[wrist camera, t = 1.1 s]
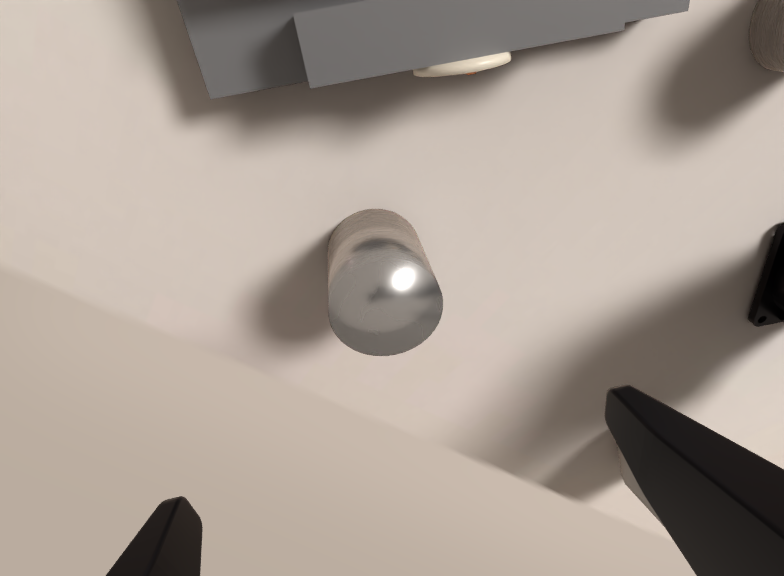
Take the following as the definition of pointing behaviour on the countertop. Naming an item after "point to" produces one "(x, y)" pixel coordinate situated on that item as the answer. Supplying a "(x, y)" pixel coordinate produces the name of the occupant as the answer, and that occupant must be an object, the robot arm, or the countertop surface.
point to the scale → (384, 36)
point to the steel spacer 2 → (768, 34)
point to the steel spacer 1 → (380, 284)
